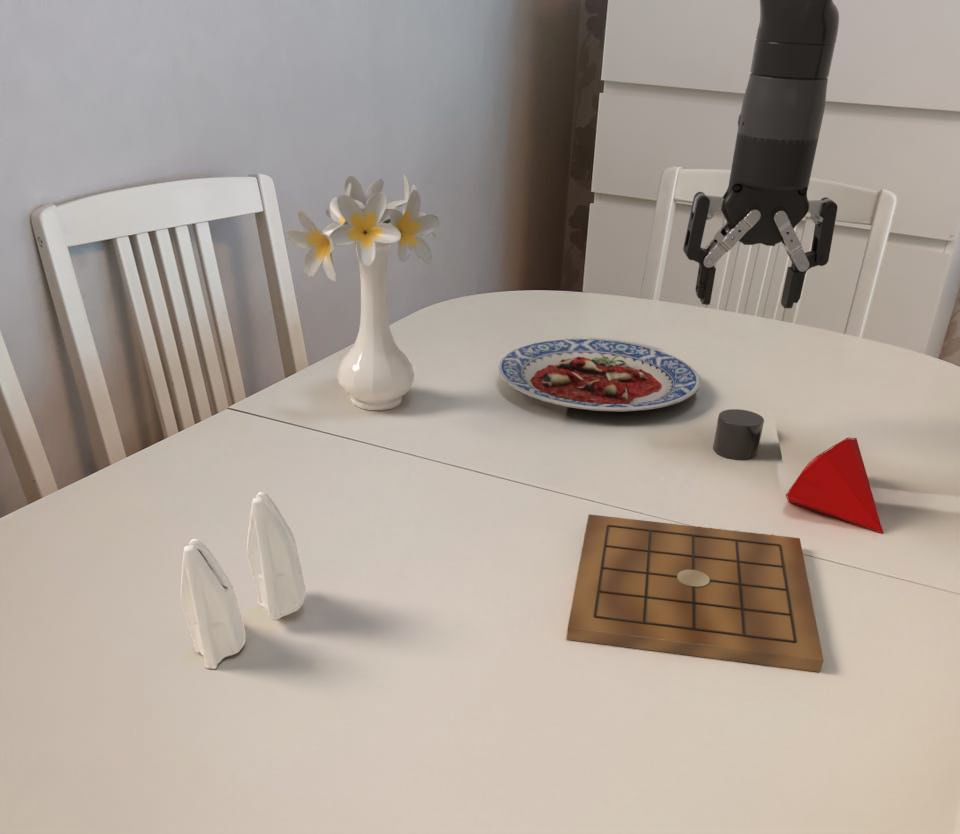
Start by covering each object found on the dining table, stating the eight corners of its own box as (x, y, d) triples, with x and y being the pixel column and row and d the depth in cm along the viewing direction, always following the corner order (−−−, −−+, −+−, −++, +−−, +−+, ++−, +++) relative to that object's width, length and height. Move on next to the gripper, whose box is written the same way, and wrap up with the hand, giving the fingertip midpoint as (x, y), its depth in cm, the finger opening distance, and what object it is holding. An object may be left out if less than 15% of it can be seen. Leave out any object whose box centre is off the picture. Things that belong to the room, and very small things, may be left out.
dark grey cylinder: (755, 444, 112) (762, 411, 110) (758, 462, 108) (765, 428, 106) (712, 439, 113) (718, 407, 110) (713, 457, 109) (719, 423, 106)
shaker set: (289, 588, 83) (278, 469, 77) (324, 605, 81) (316, 485, 75) (176, 651, 75) (154, 524, 69) (212, 671, 73) (193, 543, 67)
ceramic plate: (648, 444, 111) (652, 419, 109) (459, 394, 122) (460, 371, 120) (725, 380, 129) (730, 358, 128) (555, 342, 140) (557, 321, 138)
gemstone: (924, 505, 97) (855, 436, 100) (916, 497, 90) (841, 423, 93) (854, 566, 101) (788, 498, 104) (841, 563, 93) (770, 489, 96)
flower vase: (285, 416, 114) (266, 185, 100) (375, 371, 127) (369, 162, 113) (377, 441, 109) (370, 202, 95) (460, 392, 122) (465, 176, 108)
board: (797, 549, 92) (800, 536, 91) (820, 672, 76) (824, 658, 75) (587, 525, 94) (588, 512, 94) (566, 639, 78) (567, 626, 77)
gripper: (710, 133, 88) (682, 312, 98) (865, 139, 88) (823, 318, 98) (697, 122, 95) (672, 292, 104) (842, 128, 95) (804, 297, 104)
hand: (745, 304), depth 101 cm, fingers open, 8 cm apart
